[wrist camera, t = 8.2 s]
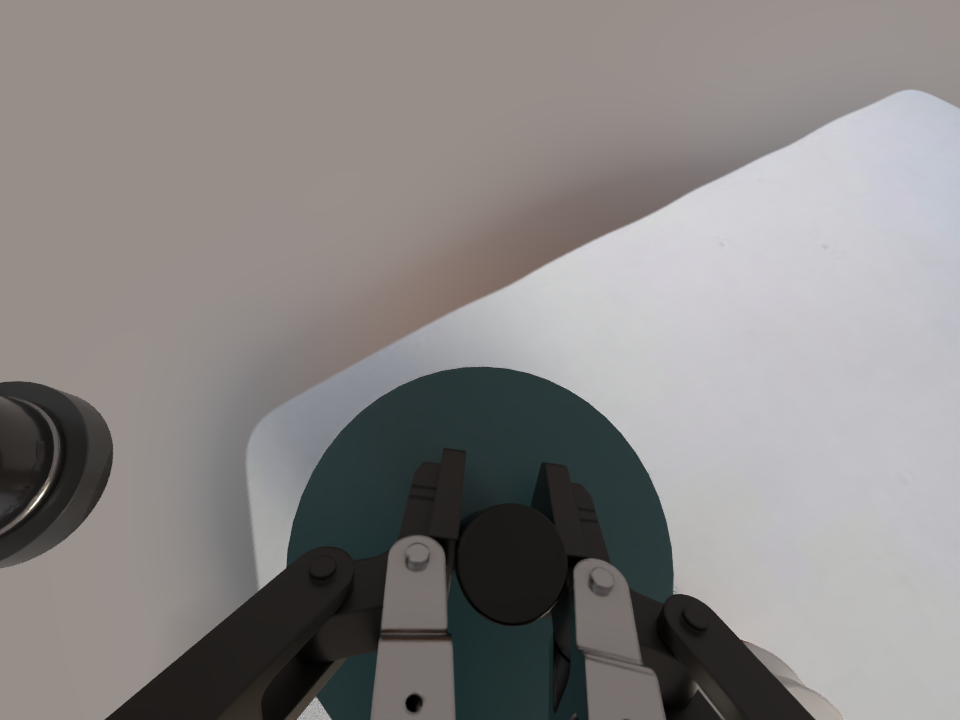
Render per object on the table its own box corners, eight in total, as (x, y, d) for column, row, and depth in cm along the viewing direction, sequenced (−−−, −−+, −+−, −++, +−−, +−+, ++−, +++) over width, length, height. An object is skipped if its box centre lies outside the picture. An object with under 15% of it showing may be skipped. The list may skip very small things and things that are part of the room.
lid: (245, 748, 13) (73, 948, 7) (345, 353, 18) (294, 261, 11) (661, 796, 14) (848, 1025, 7) (656, 400, 18) (770, 336, 12)
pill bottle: (718, 623, 28) (880, 682, 18) (715, 743, 26) (897, 891, 15) (621, 600, 28) (726, 645, 18) (610, 717, 26) (722, 848, 15)
